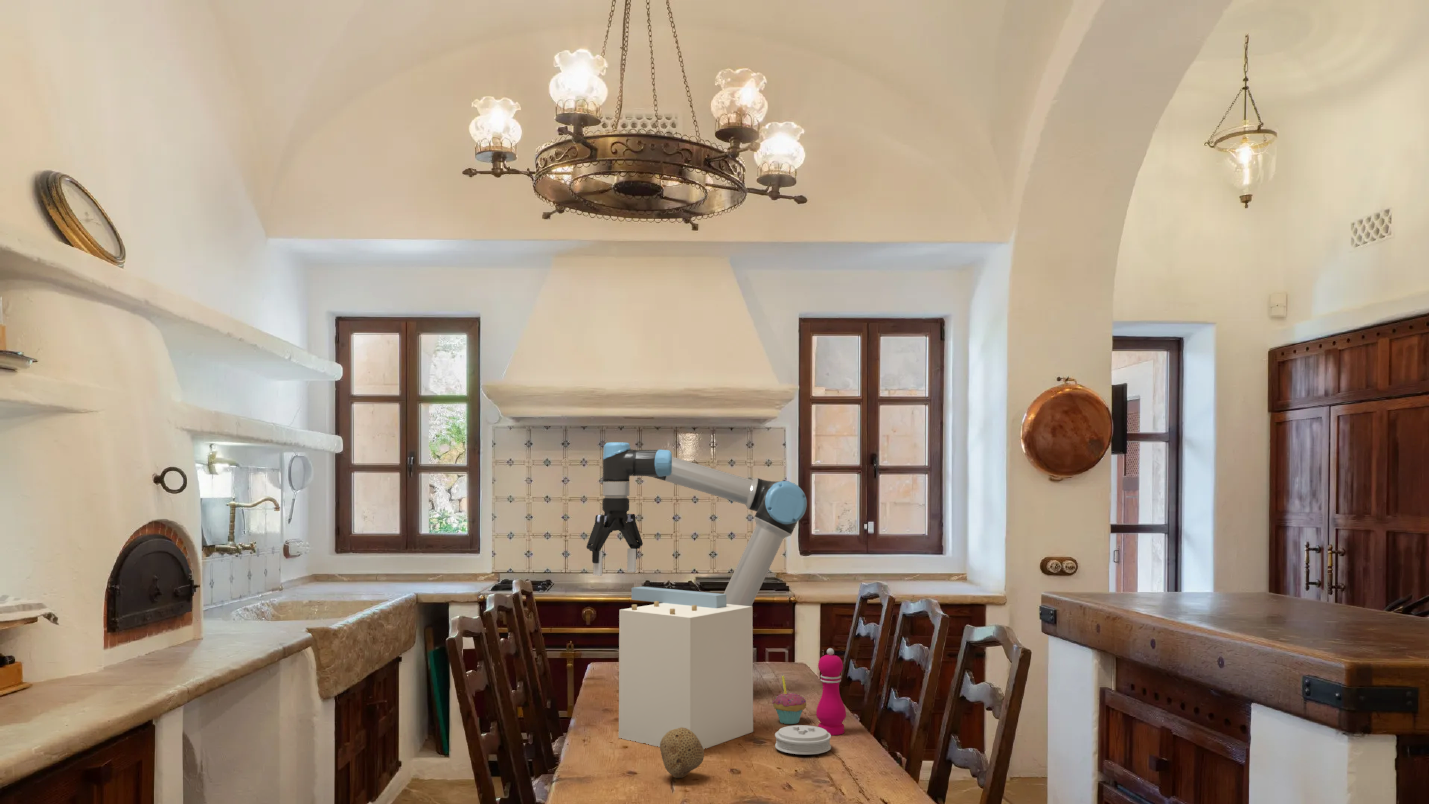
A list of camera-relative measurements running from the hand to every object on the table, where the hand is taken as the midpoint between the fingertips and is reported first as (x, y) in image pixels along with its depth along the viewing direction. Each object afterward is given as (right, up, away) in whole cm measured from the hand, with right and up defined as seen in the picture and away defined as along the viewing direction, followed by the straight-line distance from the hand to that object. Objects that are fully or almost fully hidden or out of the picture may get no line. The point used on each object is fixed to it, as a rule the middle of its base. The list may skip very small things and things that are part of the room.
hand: (614, 573), depth 270 cm
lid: (+48, -31, -51) cm, 77 cm away
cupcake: (+47, -33, -26) cm, 63 cm away
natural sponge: (+21, -30, -71) cm, 80 cm away
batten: (+19, -3, -26) cm, 32 cm away
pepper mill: (+56, -32, -36) cm, 74 cm away
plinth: (+21, -32, -38) cm, 54 cm away
